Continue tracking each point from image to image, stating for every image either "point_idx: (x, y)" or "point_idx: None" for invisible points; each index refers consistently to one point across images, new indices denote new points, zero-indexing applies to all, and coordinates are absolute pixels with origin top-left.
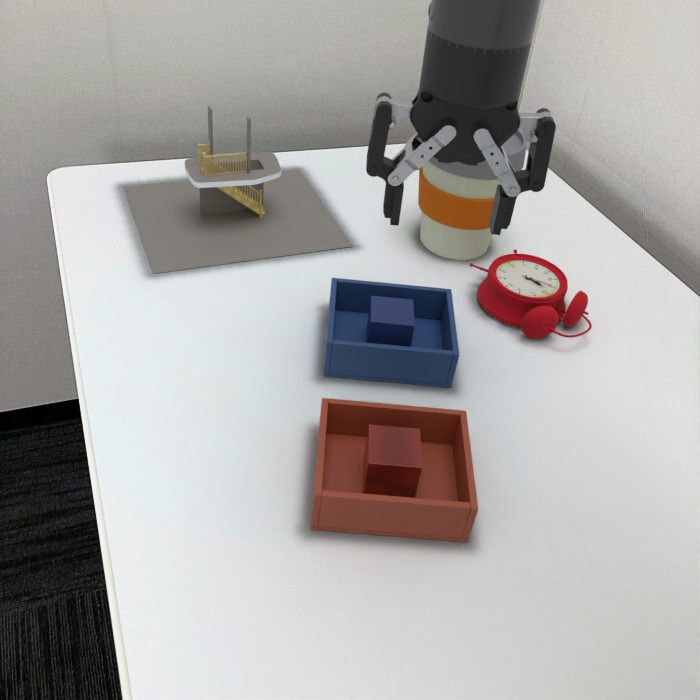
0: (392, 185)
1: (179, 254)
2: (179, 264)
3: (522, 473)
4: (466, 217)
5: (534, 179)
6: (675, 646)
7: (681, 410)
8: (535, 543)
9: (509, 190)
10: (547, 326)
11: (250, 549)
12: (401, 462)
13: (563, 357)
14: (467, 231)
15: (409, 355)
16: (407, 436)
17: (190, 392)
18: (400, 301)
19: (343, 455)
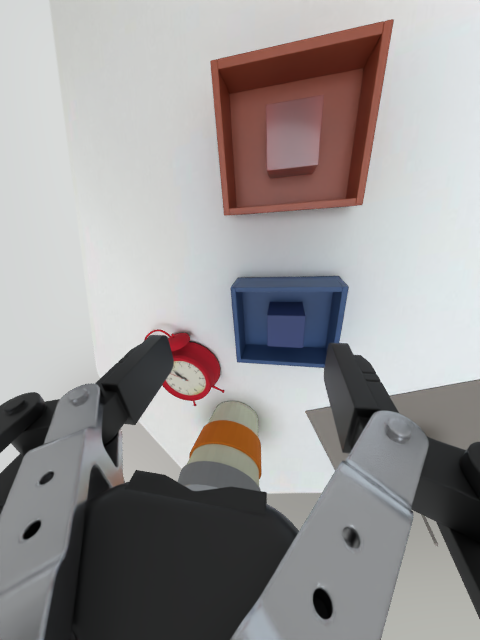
0: (394, 412)
1: (451, 400)
2: (453, 390)
3: (184, 191)
4: (225, 429)
5: (5, 420)
6: (62, 6)
7: (91, 278)
8: (171, 107)
9: (87, 396)
10: (171, 338)
11: (442, 3)
12: (287, 106)
13: (164, 318)
14: (225, 419)
15: (271, 285)
16: (279, 155)
17: (471, 236)
18: (278, 343)
19: (330, 173)
